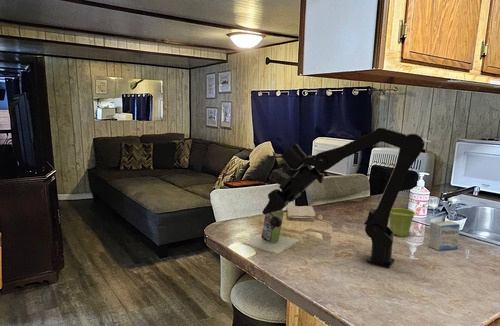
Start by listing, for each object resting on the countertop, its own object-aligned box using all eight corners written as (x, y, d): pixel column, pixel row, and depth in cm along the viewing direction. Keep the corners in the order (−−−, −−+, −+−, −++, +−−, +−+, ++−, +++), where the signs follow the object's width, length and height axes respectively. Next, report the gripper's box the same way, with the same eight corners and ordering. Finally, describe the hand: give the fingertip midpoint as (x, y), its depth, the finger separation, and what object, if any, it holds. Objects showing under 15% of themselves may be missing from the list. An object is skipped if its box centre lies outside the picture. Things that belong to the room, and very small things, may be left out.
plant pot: (391, 238, 123) (393, 214, 122) (382, 229, 133) (383, 207, 132) (417, 238, 123) (419, 215, 122) (406, 230, 132) (408, 208, 131)
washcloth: (287, 222, 141) (287, 214, 141) (285, 210, 159) (285, 203, 159) (316, 223, 141) (317, 215, 140) (311, 210, 159) (311, 204, 158)
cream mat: (277, 254, 107) (277, 252, 107) (242, 243, 115) (242, 242, 115) (299, 241, 118) (299, 240, 118) (266, 232, 127) (266, 231, 127)
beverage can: (262, 237, 120) (263, 203, 119) (283, 239, 119) (284, 205, 117) (259, 243, 114) (260, 208, 113) (281, 245, 113) (282, 210, 111)
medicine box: (438, 251, 112) (440, 225, 111) (428, 246, 116) (430, 221, 115) (457, 249, 114) (460, 224, 113) (446, 244, 118) (449, 220, 117)
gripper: (293, 158, 120) (263, 186, 126) (275, 165, 103) (241, 197, 109) (314, 183, 118) (283, 210, 124) (299, 194, 101) (263, 224, 107)
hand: (268, 209), depth 116 cm, fingers open, 9 cm apart
